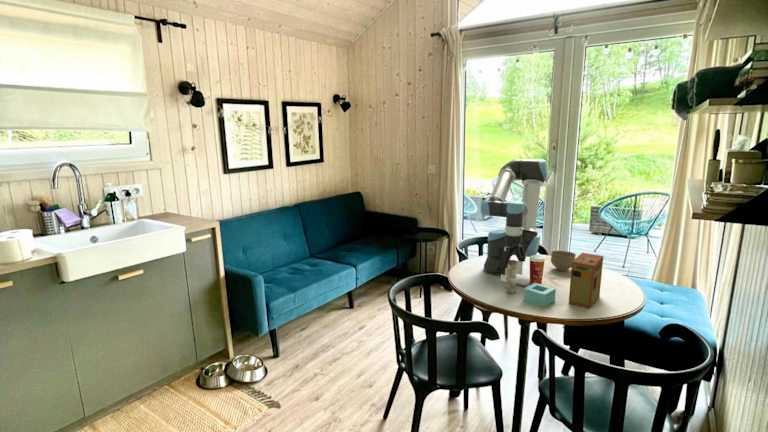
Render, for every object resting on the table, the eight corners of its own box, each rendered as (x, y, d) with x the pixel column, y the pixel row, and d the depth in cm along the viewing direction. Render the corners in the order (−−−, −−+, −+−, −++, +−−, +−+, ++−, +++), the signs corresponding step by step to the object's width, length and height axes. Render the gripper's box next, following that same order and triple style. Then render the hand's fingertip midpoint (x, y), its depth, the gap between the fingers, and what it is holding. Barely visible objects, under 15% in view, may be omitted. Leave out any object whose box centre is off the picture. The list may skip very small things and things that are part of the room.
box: (578, 292, 196) (582, 252, 191) (599, 296, 190) (603, 256, 186) (568, 304, 183) (572, 261, 179) (590, 309, 177) (594, 265, 173)
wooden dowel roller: (504, 292, 197) (506, 261, 194) (509, 290, 200) (511, 259, 196) (512, 295, 194) (514, 263, 191) (517, 292, 197) (518, 261, 193)
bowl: (576, 268, 229) (577, 251, 227) (572, 275, 218) (574, 257, 216) (552, 264, 235) (553, 248, 233) (547, 271, 225) (549, 253, 223)
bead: (523, 300, 188) (524, 288, 186) (534, 294, 194) (535, 282, 193) (544, 307, 180) (544, 294, 179) (554, 300, 187) (555, 288, 185)
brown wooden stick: (508, 282, 210) (508, 280, 209) (509, 282, 210) (509, 280, 210) (527, 288, 202) (527, 286, 202) (528, 287, 202) (528, 285, 202)
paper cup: (536, 286, 203) (537, 260, 200) (524, 282, 210) (525, 256, 207) (547, 284, 207) (549, 257, 204) (535, 279, 213) (536, 253, 210)
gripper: (506, 240, 180) (503, 285, 184) (534, 231, 196) (532, 273, 200) (491, 237, 185) (489, 281, 190) (520, 228, 202) (518, 269, 206)
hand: (511, 277), depth 195 cm, fingers open, 13 cm apart
